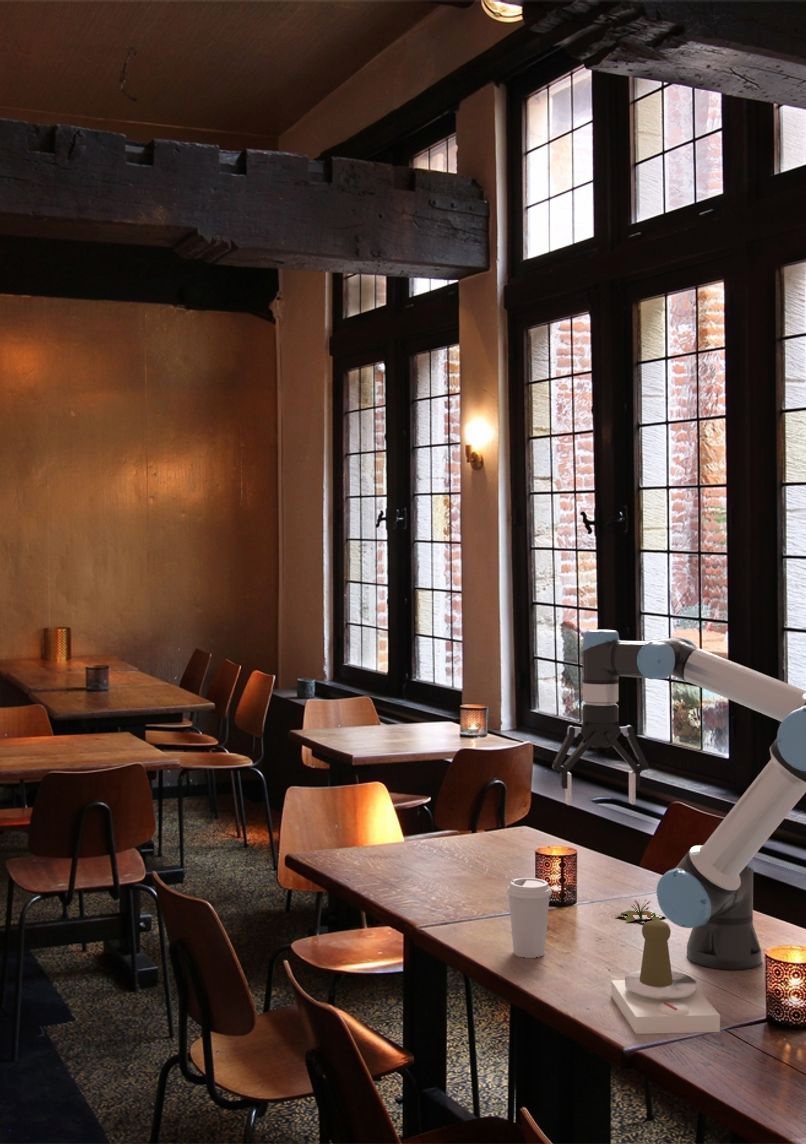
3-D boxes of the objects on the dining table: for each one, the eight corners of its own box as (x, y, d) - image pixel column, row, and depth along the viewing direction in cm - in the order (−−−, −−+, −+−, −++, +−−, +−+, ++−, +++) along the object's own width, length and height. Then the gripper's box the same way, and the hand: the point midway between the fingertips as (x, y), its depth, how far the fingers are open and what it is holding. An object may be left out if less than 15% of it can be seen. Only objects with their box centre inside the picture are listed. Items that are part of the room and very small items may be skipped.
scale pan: (685, 975, 236) (685, 968, 236) (705, 999, 223) (705, 992, 223) (617, 976, 235) (617, 970, 235) (634, 1000, 222) (634, 994, 222)
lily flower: (604, 919, 288) (604, 900, 288) (634, 909, 297) (634, 890, 297) (647, 931, 280) (647, 910, 280) (677, 920, 288) (677, 900, 288)
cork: (673, 987, 226) (673, 927, 225) (639, 985, 227) (639, 925, 227) (672, 976, 232) (672, 918, 231) (639, 974, 233) (639, 916, 233)
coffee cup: (522, 943, 269) (522, 874, 269) (560, 952, 263) (560, 881, 263) (497, 954, 261) (497, 883, 261) (535, 963, 255) (535, 891, 255)
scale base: (688, 994, 237) (688, 973, 237) (719, 1032, 218) (719, 1009, 218) (611, 996, 236) (611, 975, 236) (635, 1033, 217) (635, 1011, 217)
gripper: (654, 700, 266) (653, 799, 266) (538, 701, 265) (538, 800, 265) (663, 704, 259) (663, 806, 259) (544, 705, 257) (544, 807, 257)
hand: (600, 803), depth 262 cm, fingers open, 13 cm apart
